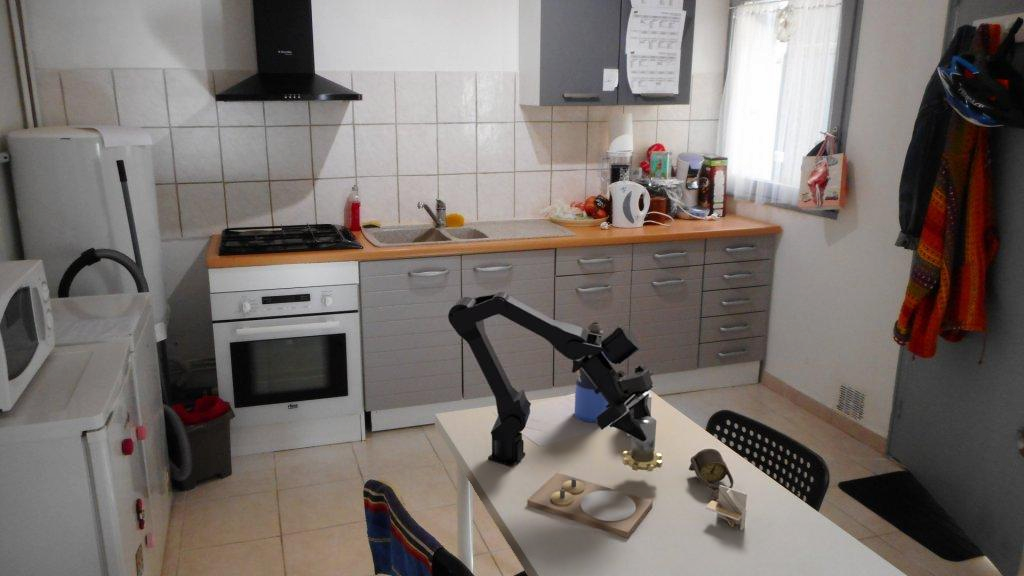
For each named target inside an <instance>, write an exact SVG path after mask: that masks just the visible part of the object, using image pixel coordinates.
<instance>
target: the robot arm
mask: <svg viewBox="0 0 1024 576" xmlns="http://www.w3.org/2000/svg"><path fill="white" fill-rule="evenodd" d="M497 315H500V316H502V317H504V318H506V319H507V320H510V321H512V322H513V323H515V324H516V325H519V326H520V327H523V328H524V329H526V330H529V331H530V332H531V333H534V334H535V335H538V336H540V337H541V338H543V339H545V340H546V341H548V343H550V344H551V346H552V347H553V348H554V349H555V350H556V351H557V352H558V353H560V354H561V355H562V356H564V358H567V359H568V360H570V361H572V368H571V372H572V374H574V373H576V372H578V370H579V369H580V368H581V369H582V370H583V371H584V372H585V374H586V375H587V376H588V378H589V379H590V380H591V382H592V383H593V384H594V385H595V387H596V388H597V389H596V390H594V392H595V393H596V395H597V394H598V393H601V395H602V396H603V397H604V398H605V400H606V401H607V402H608V405H606V408H607V409H606V410H604V411H603V412H602V413H601V414H600V415H598V416H597V417H596V424H597V426H598V428H599V429H600V430H601V431H602V430H604V429H606V428H607V427H610V428H612V427H613V428H615V429H617V430H620V431H622V432H624V433H626V435H627V434H629V435H631V436H630V437H632V436H633V437H635V438H637V439H639V440H641V441H643V442H644V441H645V440H646V439H647V438H646V436H645V434H644V432H643V431H642V429H641V428H640V426H639V424H638V423H637V421H636V420H635V418H634V417H636V416H649V417H652V413H651V414H650V412H649V409H648V406H647V402H648V397H649V393H648V394H647V395H645V396H644V395H643V394H644V393H645V392H648V391H649V392H650V390H651V389H653V387H654V386H653V384H654V383H653V380H652V377H651V376H653V372H652V371H650V369H649V368H648V367H647V366H646V364H644V363H643V364H639V365H637V366H636V367H635V368H634V372H631V373H629V374H626V373H625V372H624V371H623V370H621V369H619V371H617V369H616V368H615V367H614V366H613V364H614V365H617V364H618V365H621V364H623V363H624V362H625V361H626V360H628V359H629V358H630V357H632V356H633V355H635V354H636V353H637V352H639V351H640V350H641V349H642V346H641V344H640V342H639V340H638V339H637V338H636V336H635V334H633V332H632V331H629V330H628V329H627V328H626V327H623V326H622V324H618V325H616V326H615V327H614V328H613V330H612V331H611V332H609V333H608V334H606V335H605V336H604V335H603V336H602V335H597V334H593V333H589V332H587V330H586V329H584V328H583V327H581V326H579V325H575V324H572V323H569V322H564V321H558V320H555V319H552V318H551V317H550V316H547V315H545V314H544V313H542V312H540V311H538V310H536V309H534V308H532V307H531V306H528V305H526V304H525V303H522V302H521V301H519V300H517V299H515V298H513V297H512V296H510V295H509V294H508V293H507V292H503V291H499V292H497V293H493V294H485V295H479V296H477V297H470V296H463V297H461V298H459V299H458V300H457V301H456V302H455V303H454V305H453V306H452V307H451V308H450V309H449V312H448V315H447V319H448V322H449V324H450V325H451V326H452V328H453V330H454V331H455V332H456V334H457V335H458V336H459V337H460V338H461V339H463V340H464V341H465V342H466V343H467V344H468V346H469V348H470V349H471V352H472V354H473V356H474V359H475V360H476V362H477V364H478V366H479V368H480V370H481V372H482V374H483V376H484V379H485V380H486V382H487V384H488V386H489V388H490V390H491V392H492V395H493V396H494V399H495V405H496V411H497V415H498V416H497V418H496V420H495V422H494V424H493V427H492V428H491V431H490V435H491V454H489V455H488V456H487V459H488V460H489V461H492V462H496V463H499V464H502V465H506V466H509V467H513V466H514V465H515V464H517V463H519V461H520V460H522V459H523V458H524V457H525V456H526V452H524V450H525V449H524V445H525V444H524V440H523V432H522V431H523V430H525V428H526V425H527V423H528V420H529V418H530V417H529V416H530V414H531V406H532V403H531V402H530V401H529V399H528V398H527V396H526V392H525V390H524V389H521V390H520V391H517V390H516V389H515V388H514V387H513V385H512V383H511V382H510V380H509V378H508V376H507V373H506V371H505V370H504V367H503V366H502V363H501V361H500V359H499V357H498V356H497V354H496V351H495V349H494V347H493V345H492V344H491V341H490V339H489V337H488V336H487V334H486V327H485V321H484V320H487V319H489V318H491V317H494V316H497ZM602 352H603V353H604V354H605V356H606V357H607V358H606V357H605V356H604V354H603V353H602ZM608 360H609V361H610V362H611V363H610V362H609V361H608ZM596 382H597V383H596ZM595 383H596V384H595ZM627 406H628V407H629V408H627Z"/></svg>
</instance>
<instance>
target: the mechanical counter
mask: <svg viewBox="0 0 1024 576" xmlns="http://www.w3.org/2000/svg"><path fill="white" fill-rule="evenodd" d="M688 470H689V471H692V472H693V471H694V472H695V475H696V477H697V479H698V480H699V481H700V483H702V484H703V485H704V486H705V487H707V489H710V490H711V492H710V495H711V497H712V498H713V499H714V500H715V501H717V499H718V498H719V486H715V485H713V484H717V483H719V482H721V481H722V480H723V479H725V477H726V476H727V478H728V480H729V483H730V485H729V486H727V487H728V488H731V489H733V485H734V479H733V476H732V474H731V472H730V470H729V467H728V466H727V464H726V462H725V461H724V459H723V457H722V455H721V453H720V451H718V450H717V449H714V448H704V449H701V450H700V451H698V452H697V453H695V454H694V455H693V456H691V458H690V465H689V467H688Z"/></svg>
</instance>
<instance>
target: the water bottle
mask: <svg viewBox="0 0 1024 576" xmlns="http://www.w3.org/2000/svg"><path fill="white" fill-rule="evenodd" d="M603 329H604V327H603V326H602V324H600V323H599V322H597V321H594V322H591V323H590V324H588V326H587V330H586V331H587V332H589V333H593V334H597V335H602V336H603V337H604V331H603ZM602 353H603V352H602ZM603 354H604V353H603ZM604 356H605V354H604ZM605 357H606V356H605ZM606 358H607V357H606ZM608 361H609V360H608ZM609 362H610V361H609ZM610 363H611V362H610ZM611 364H612V363H611ZM576 372H577V374H576V379H575V387H574V388H575V391H574V393H575V394H574V417H575V418H576V419H578V420H580V421H581V422H586V423H592V424H593V423H594V424H595V423H596V417H597V416H598V415H600V414H601V413H602V412H603V411H604V410H606V409H607V408H606V405H608V402H607V401H606V400H605V398H604V397H603V396H602V395H601V393H598V394H597V395H596V393H595V392H594V390H596V389H597V388H596V387H595V385H594V384H593V383H592V382H591V380H590V379H589V378H588V376H587V375H586V374H585V372H584V371H583V370H582V369H581V368H580V369H579V370H578V371H576ZM596 383H597V382H596ZM596 383H595V384H596ZM596 424H597V423H596Z"/></svg>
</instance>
